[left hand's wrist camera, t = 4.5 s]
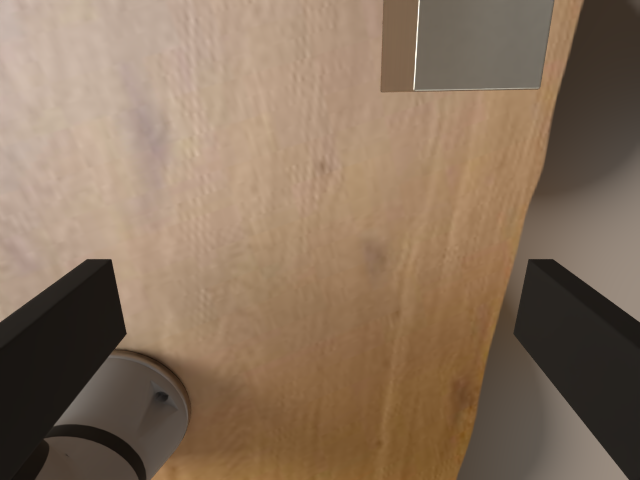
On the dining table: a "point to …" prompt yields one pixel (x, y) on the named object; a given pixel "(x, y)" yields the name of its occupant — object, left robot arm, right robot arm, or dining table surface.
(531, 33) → the bar
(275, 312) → the dining table surface
